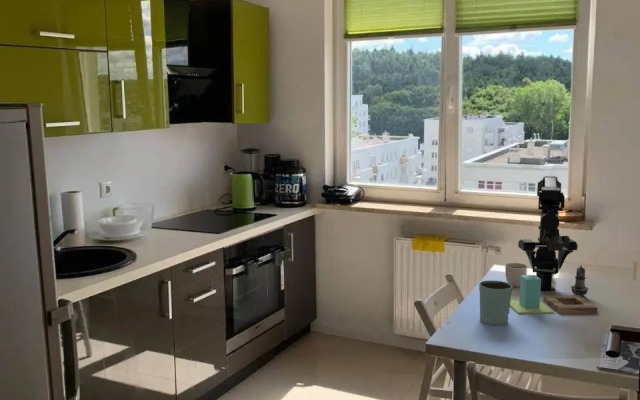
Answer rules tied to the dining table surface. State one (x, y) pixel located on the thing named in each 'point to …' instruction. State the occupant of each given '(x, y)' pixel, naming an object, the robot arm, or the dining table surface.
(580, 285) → the dark grey upright piece
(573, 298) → the frame
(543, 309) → the olive mat
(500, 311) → the green cup
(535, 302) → the teal peg
